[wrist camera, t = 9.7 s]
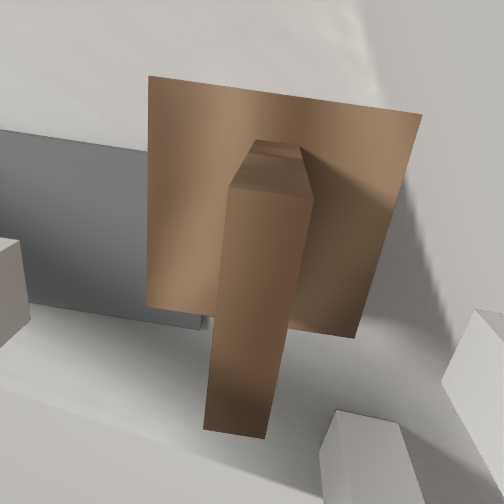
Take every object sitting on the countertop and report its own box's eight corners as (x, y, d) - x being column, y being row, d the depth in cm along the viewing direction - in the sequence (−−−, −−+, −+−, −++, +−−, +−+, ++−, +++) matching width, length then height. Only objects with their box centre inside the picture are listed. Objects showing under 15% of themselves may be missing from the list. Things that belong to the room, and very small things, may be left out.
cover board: (153, 295, 22) (57, 446, 13) (157, 76, 17) (4, 59, 8) (350, 326, 22) (401, 502, 12) (413, 113, 17) (576, 141, 7)
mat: (-26, 289, 32) (-32, 293, 31) (-62, 120, 26) (-70, 120, 25) (201, 326, 31) (199, 330, 31) (216, 162, 25) (214, 163, 25)
